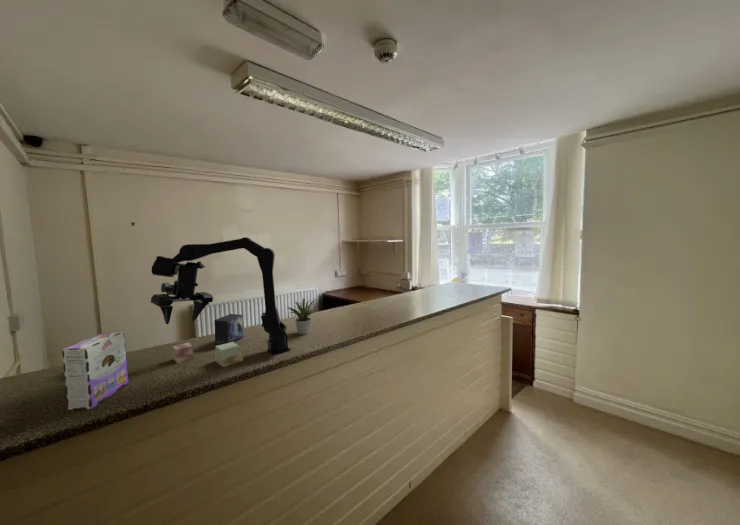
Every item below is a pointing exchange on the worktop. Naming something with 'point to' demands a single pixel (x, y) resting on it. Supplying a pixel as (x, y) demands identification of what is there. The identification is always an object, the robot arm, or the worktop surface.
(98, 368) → the candy box
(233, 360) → the beech base block
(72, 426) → the worktop surface
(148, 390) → the worktop surface
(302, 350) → the worktop surface
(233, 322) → the small box
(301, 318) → the house plant
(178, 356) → the rose cube
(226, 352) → the sage top block
